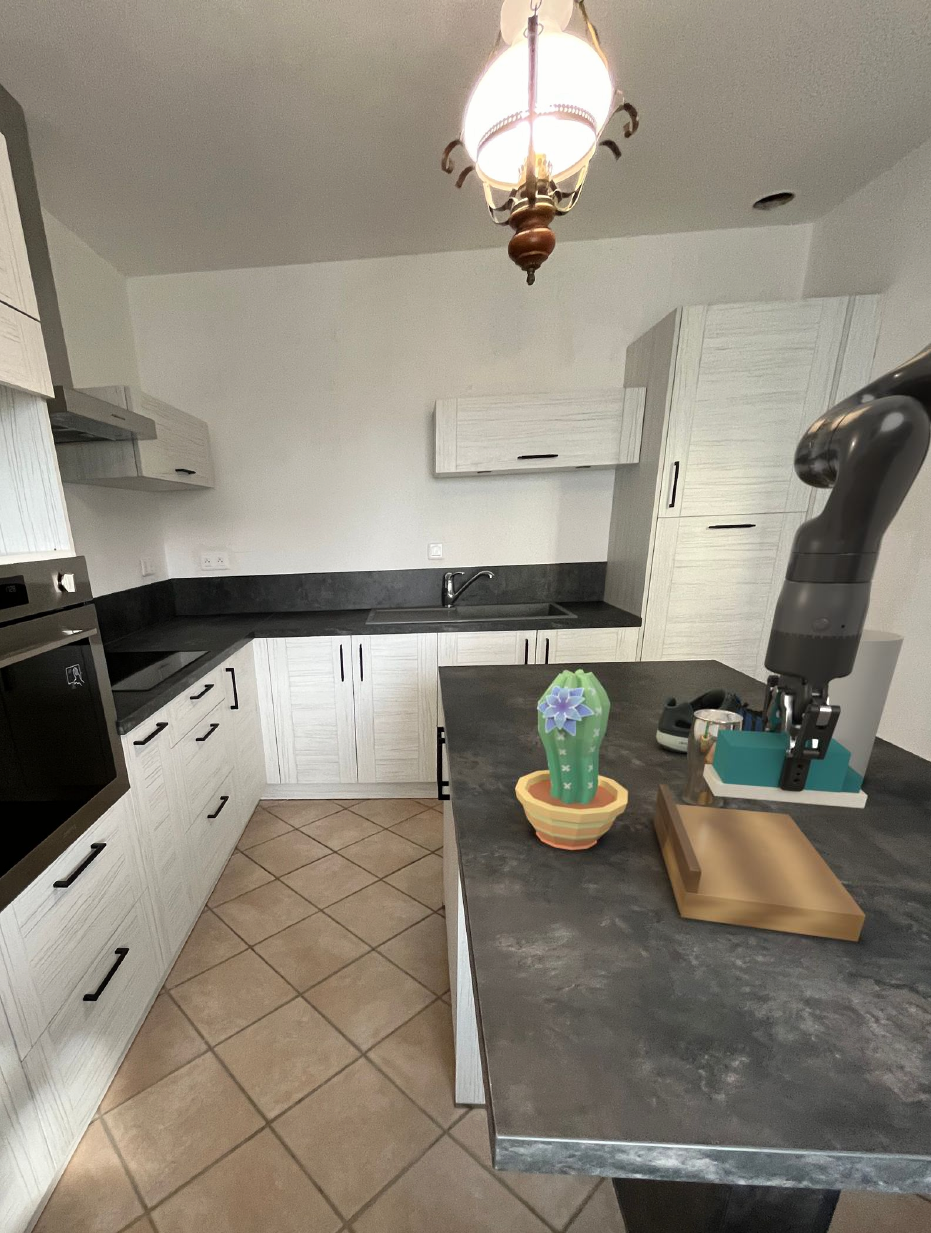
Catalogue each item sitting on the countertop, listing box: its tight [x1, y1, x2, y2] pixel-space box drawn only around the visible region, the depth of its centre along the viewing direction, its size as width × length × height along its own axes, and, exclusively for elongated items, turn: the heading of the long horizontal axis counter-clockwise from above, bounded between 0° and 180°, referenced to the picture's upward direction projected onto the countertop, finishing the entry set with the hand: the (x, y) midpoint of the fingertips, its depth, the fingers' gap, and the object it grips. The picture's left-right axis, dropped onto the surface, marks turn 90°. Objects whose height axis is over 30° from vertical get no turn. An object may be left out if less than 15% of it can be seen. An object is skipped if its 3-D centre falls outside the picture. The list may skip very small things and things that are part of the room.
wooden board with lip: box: [653, 783, 866, 942], centre depth 75 cm, size 17×24×7 cm
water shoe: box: [655, 688, 766, 754], centre depth 118 cm, size 10×29×12 cm, turn 104°
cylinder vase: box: [796, 628, 905, 780], centre depth 100 cm, size 12×12×25 cm
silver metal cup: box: [681, 709, 743, 808], centre depth 93 cm, size 7×7×15 cm
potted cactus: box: [514, 668, 629, 851], centre depth 82 cm, size 15×15×25 cm
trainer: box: [703, 730, 868, 809], centre depth 66 cm, size 14×6×6 cm, turn 73°
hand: (780, 778), depth 66 cm, fingers closed on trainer, 5 cm apart
